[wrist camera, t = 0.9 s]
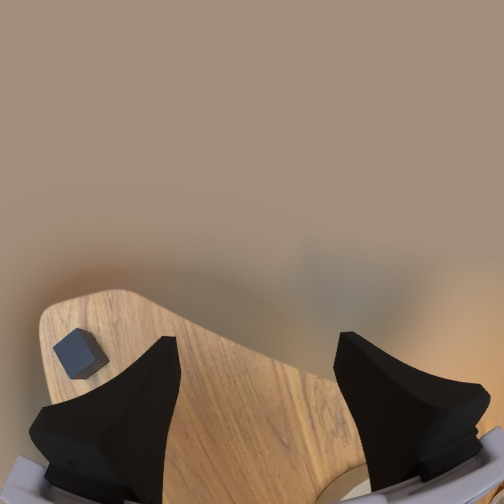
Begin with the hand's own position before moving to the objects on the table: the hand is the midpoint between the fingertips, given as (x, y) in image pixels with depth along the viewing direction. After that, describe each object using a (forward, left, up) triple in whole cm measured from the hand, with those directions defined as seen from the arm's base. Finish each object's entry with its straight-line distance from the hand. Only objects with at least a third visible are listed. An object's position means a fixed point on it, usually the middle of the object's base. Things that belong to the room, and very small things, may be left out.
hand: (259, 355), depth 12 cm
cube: (-12, +9, -16) cm, 22 cm away
